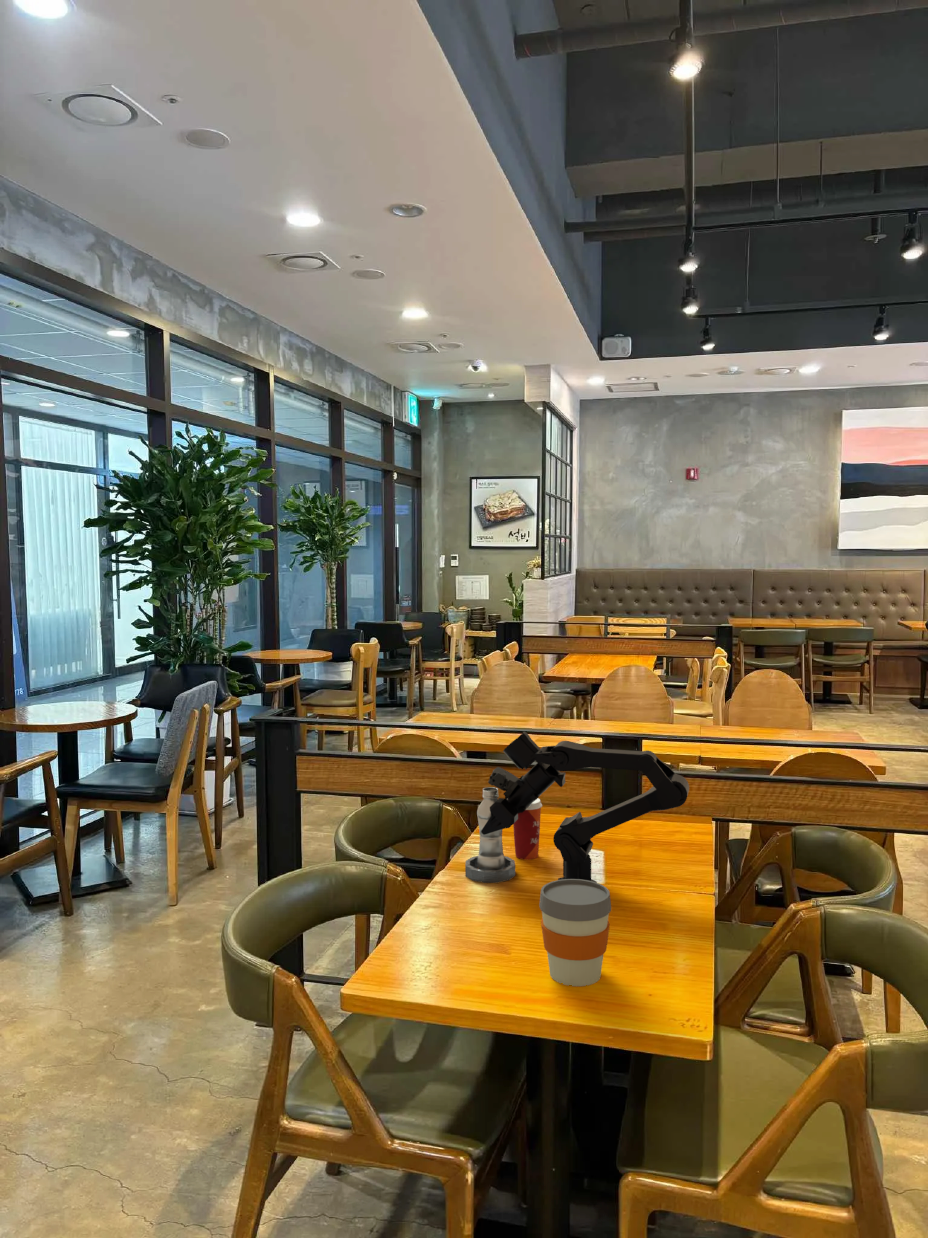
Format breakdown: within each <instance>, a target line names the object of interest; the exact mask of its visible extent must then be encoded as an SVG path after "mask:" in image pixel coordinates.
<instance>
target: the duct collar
mask: <svg viewBox="0 0 928 1238" xmlns="http://www.w3.org/2000/svg"><path fill="white" fill-rule="evenodd" d="M504 859H505V866H504V869H500V870H480V869H478V864H477V861H478V855H476V856H472V857H470V858H468V859H466V860H465V864H464V865H465V867H464V869H465V875H464V876H465V877H467V878H468V879H469V880H471V881H473V882H479V883H484V884H485V883H487V884H488V883H489V884H491V883H492V884H493V883H494V884H495V883H496V884H499V883H504V882H507V881H510V880H511V879H513V878H515V876H516V861H515V860H514V859H513V858H511V857H509V856H506V855H504Z"/></svg>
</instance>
